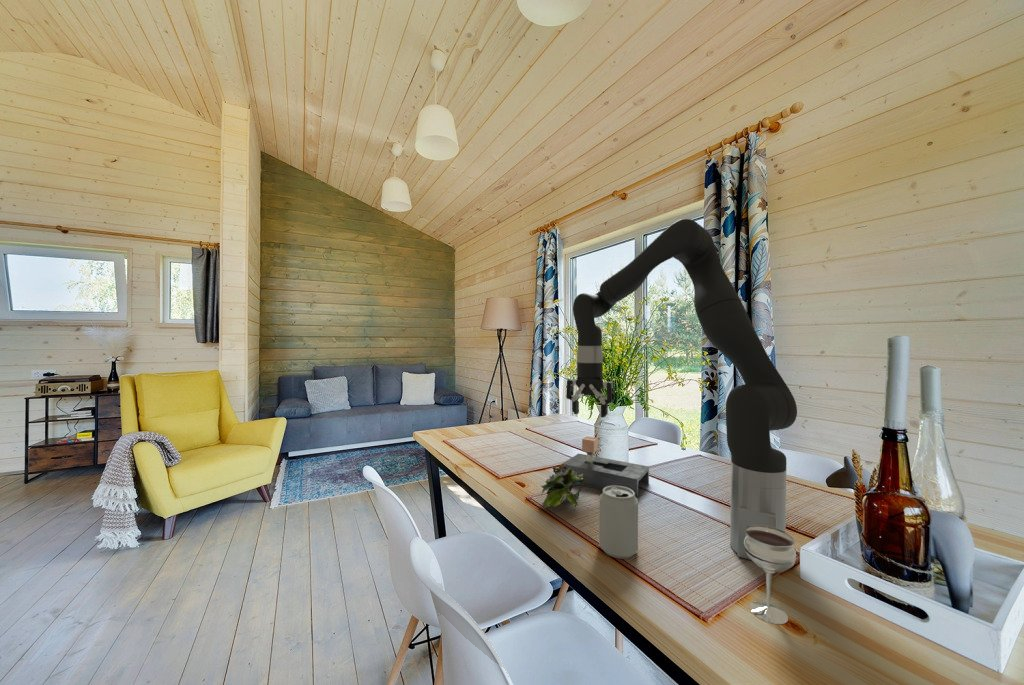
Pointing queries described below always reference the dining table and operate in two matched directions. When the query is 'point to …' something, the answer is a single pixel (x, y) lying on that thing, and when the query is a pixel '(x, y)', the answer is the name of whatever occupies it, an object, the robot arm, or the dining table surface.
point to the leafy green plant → (562, 486)
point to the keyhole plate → (609, 472)
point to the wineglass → (769, 564)
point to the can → (618, 522)
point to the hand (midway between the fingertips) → (589, 415)
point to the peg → (590, 448)
